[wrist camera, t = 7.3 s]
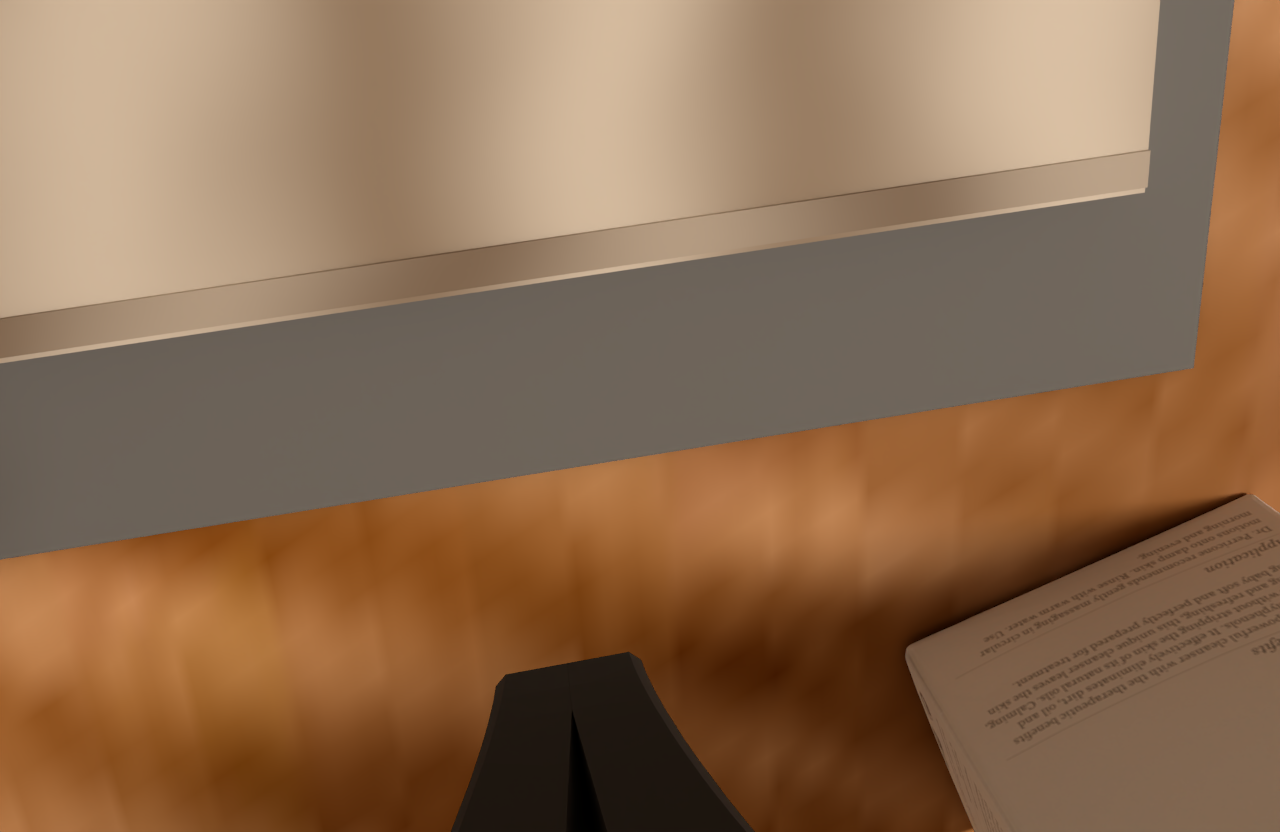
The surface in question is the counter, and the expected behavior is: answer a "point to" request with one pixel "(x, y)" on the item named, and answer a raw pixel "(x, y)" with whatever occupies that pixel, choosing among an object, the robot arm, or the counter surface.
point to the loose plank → (516, 143)
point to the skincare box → (1122, 689)
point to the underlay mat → (627, 353)
